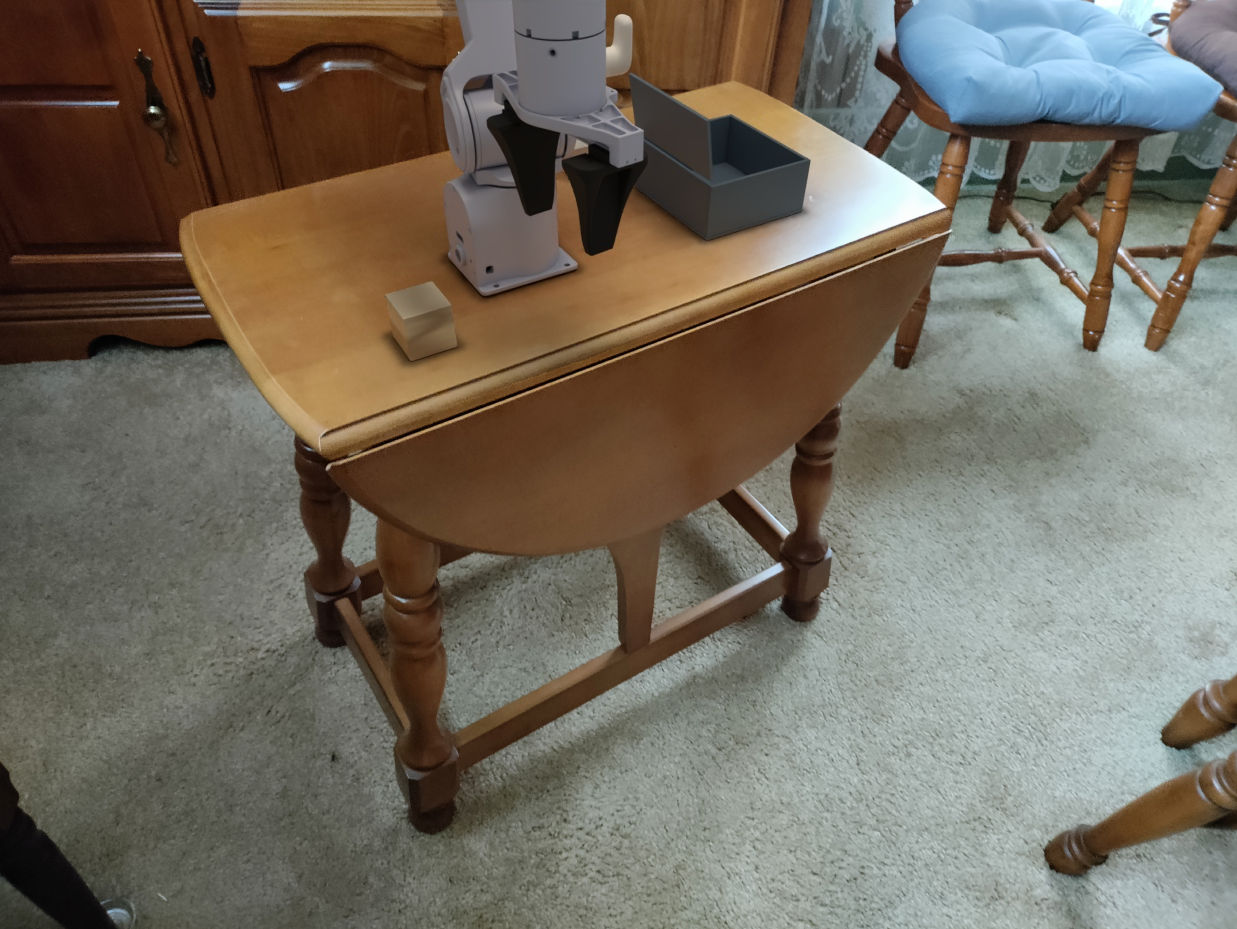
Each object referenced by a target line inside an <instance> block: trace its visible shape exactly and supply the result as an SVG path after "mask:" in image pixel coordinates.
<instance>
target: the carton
mask: <svg viewBox="0 0 1237 929" xmlns="http://www.w3.org/2000/svg"><path fill="white" fill-rule="evenodd" d="M709 119H710V132H711V149H712V167H713V180H711V181H709V180H708V179H706V178H705V177H704V176H702V175H701V174H699V173H698V172H696V171H695V170H693V169H692V168H690V167H689V166H687V165H686V164H684V163H683V162H681V161H680V160H678V159H677V158H675V157H674V156H672V155H671V154H669V153H668V152H666V151H665V150H663V149H662V148H660V147H659V146H657V145H656V144H655V143H653V142H652V141H650V140H649V139H647V138H646V137H644V141H643V150H645V151H646V152H647V153H648V165H647V166H646V168H645V169H644V171H643V172H642V174H641V175H640V177H639V178H638V180H637V182H636V184H635V185H634V187H635V189H636V190H638V191H639V192H640V193H642V194H643V195H644V196H646V197H647V198H649V199H650V200H652V201H653V202H654V203H656V205H658V206H659V207H661V208H662V209H663V210H664V211H666V212H667V213H668V214H670V215H671V216H673V217H674V218H675V219H676V220H678V221H679V222H680V223H681V224H684V225H685V226H686V227H688V228H689V229H690V230H691V231H692V232H694V233H695V234H697V235H698V236H699V237H701V238H702V239H703V240H705V241H706V242H707V241H710V240H711V241H712V240H713V239H717V238H720V237H721V238H722V237H724V236H726V235H727V236H728V235H731V234H734V233H736V232H741V231H743V230H747V229H750V228H753V227H756V226H760V225H763V224H766V223H770V222H773V221H777V220H779V219H783V218H786V217H790V216H792V215H796V214H799V213H802V212H803V207H804V201H805V195H806V191H807V190H806V189H807V184H808V179H809V172H810V167H811V163H812V162H811V161H812V160H811V158H808V157H806V156H805V155H803V154H802V153H799V152H798V151H796V150H794V149H793V148H791V147H789V146H787V145H785V143H783V142H781V141H779V140H777V139H776V138H774V137H772V136H771V135H769V134H767V133H765V132H763V131H761V130H760V129H758V128H756V127H755V126H753V125H751V124H749V123H748V122H746V121H744V120H742V119H741V118H740V117H738V116H735V115H734V114H733V113H731V114H730V113H729V114H726V115H722V116H717V117H714V118H709Z"/></svg>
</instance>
